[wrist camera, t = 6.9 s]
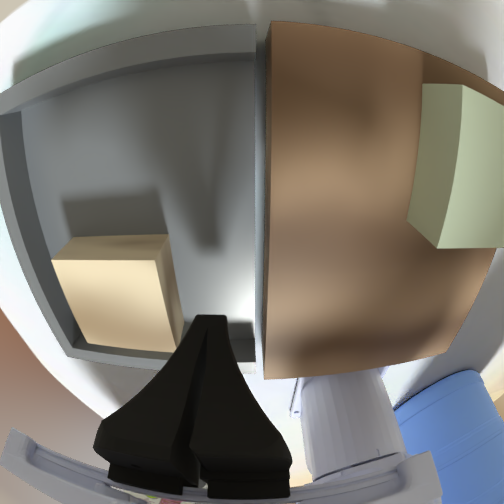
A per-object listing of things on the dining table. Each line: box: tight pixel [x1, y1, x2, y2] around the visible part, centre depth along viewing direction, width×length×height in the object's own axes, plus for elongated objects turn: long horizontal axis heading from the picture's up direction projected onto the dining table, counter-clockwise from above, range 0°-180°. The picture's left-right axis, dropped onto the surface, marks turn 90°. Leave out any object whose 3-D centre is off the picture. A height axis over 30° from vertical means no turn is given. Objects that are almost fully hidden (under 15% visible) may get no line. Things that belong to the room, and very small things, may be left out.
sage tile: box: [406, 84, 504, 249], centre depth 8 cm, size 6×6×2 cm
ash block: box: [51, 234, 184, 353], centre depth 14 cm, size 6×6×2 cm
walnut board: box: [262, 21, 504, 380], centre depth 13 cm, size 18×14×3 cm
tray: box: [0, 24, 256, 374], centre depth 13 cm, size 18×14×2 cm
